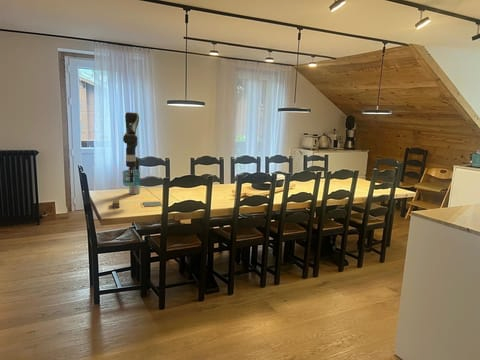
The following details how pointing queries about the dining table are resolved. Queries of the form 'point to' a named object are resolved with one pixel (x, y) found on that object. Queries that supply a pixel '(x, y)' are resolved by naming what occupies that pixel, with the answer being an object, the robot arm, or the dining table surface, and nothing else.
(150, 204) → the plate
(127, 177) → the data package
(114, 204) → the ticket block
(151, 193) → the dining table surface
